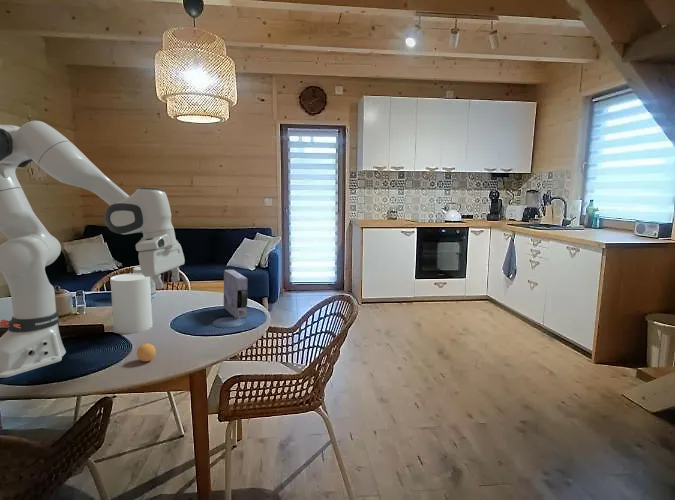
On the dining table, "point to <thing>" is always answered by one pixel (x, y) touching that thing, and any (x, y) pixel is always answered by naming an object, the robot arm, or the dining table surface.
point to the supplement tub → (152, 283)
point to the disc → (228, 322)
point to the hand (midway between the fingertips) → (168, 285)
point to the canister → (131, 303)
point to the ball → (146, 352)
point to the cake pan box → (235, 293)
